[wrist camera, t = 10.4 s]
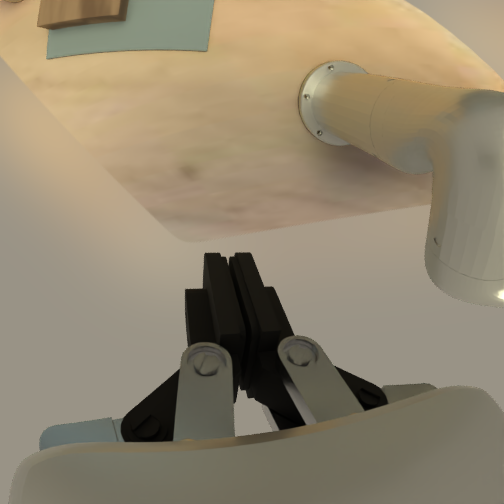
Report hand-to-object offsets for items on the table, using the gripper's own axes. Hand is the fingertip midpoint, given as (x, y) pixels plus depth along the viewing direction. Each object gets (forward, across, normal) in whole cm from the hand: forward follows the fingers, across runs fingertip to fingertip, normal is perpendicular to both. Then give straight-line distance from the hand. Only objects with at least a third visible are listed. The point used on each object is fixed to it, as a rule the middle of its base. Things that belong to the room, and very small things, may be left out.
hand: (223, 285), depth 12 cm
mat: (+32, +10, -17) cm, 38 cm away
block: (+29, +10, -17) cm, 35 cm away
